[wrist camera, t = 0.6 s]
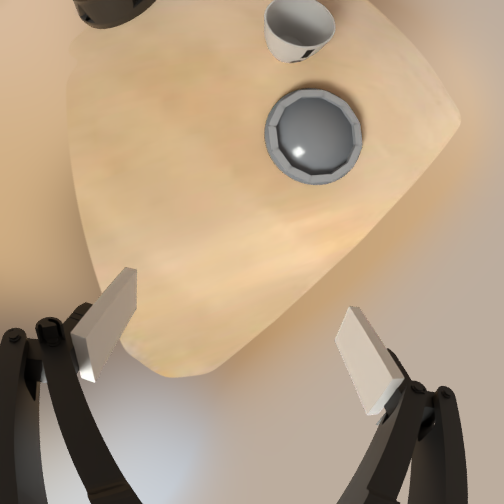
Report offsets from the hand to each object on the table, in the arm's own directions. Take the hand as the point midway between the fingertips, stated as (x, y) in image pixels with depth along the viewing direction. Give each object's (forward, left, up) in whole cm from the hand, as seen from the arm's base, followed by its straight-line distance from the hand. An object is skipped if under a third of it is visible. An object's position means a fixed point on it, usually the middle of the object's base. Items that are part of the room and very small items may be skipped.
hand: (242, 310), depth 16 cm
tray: (-11, +11, -25) cm, 29 cm away
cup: (-25, +9, -25) cm, 36 cm away
